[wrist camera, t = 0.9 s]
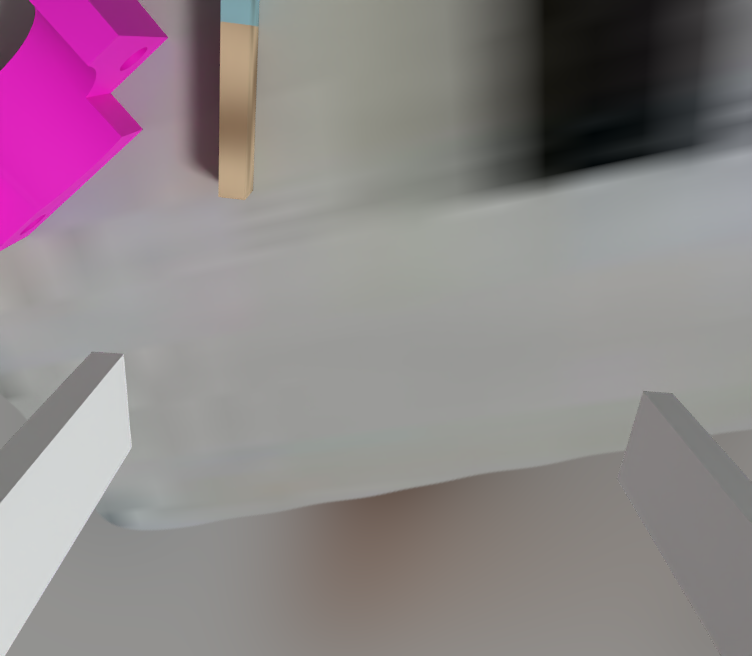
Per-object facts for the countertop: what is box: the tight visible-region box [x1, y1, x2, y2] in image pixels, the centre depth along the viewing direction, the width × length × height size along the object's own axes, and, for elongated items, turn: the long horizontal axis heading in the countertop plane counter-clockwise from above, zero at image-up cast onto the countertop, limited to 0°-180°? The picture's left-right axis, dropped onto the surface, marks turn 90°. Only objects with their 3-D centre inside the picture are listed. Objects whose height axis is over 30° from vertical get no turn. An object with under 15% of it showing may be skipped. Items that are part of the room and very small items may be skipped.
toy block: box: [0, 0, 168, 251], centre depth 33 cm, size 15×6×8 cm, turn 128°
